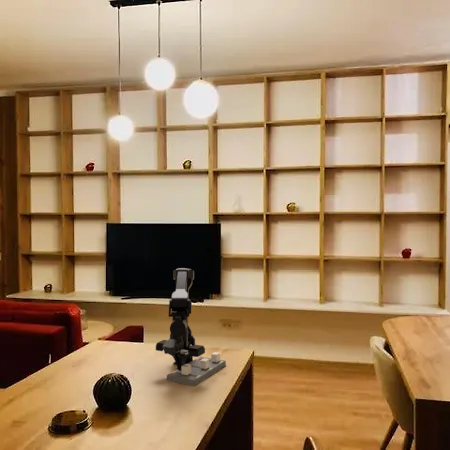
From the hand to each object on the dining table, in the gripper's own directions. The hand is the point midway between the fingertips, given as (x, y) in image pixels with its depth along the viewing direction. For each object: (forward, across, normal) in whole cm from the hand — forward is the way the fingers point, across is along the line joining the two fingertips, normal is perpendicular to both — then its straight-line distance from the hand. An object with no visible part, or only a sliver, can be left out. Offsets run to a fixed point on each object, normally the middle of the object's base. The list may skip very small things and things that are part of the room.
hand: (180, 370), depth 184 cm
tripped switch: (+1, +3, 0) cm, 3 cm away
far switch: (+1, +5, +18) cm, 19 cm away
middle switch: (+1, +5, +9) cm, 11 cm away
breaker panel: (+3, +2, +9) cm, 9 cm away
